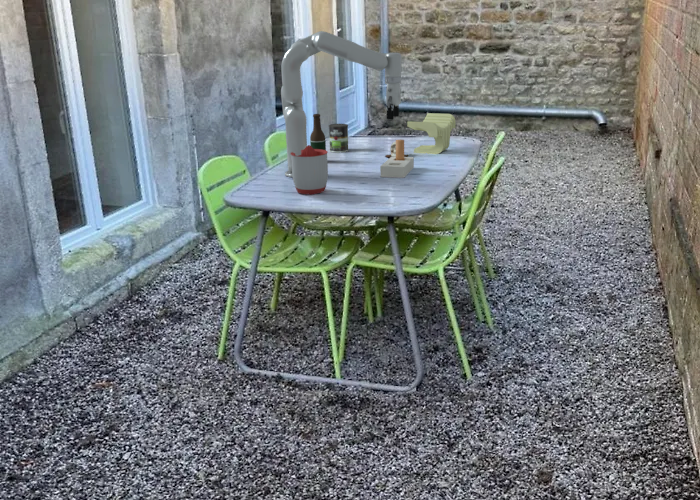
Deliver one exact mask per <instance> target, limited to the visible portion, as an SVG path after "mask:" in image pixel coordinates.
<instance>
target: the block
mask: <svg viewBox="0 0 700 500" xmlns="http://www.w3.org/2000/svg"><path fill="white" fill-rule="evenodd" d="M414 158H415V157H413V156H407V157H404V161H402V160H396V157H388V159H387V160H385V162H383V163H382V164H381V165H380V168H379V169H380V172H379V173H380V178H399V179H401V178H402V179H405V178H406V176H408V174H409V173H410V172H411V171H412V170H413V169H414V168H415V162H414V161H415V160H414Z"/></svg>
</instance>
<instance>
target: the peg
mask: <svg viewBox="0 0 700 500" xmlns="http://www.w3.org/2000/svg"><path fill="white" fill-rule="evenodd" d="M395 142H396V160H402V161H404V155H405V139H395Z"/></svg>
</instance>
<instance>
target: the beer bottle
mask: <svg viewBox="0 0 700 500" xmlns="http://www.w3.org/2000/svg"><path fill="white" fill-rule="evenodd" d="M312 117H313V129H312V132H311V134H310V136H309V137H310V138H309V145H310V146H311V147H312V148H313V149H322V150H326V151H327V148H326V147H327V145H326V143H327V142H326V135H325V133H324V132H323V130H322V126H321V125H322V124H321V114H320V113H314V114H313V115H312Z"/></svg>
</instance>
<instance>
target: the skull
mask: <svg viewBox="0 0 700 500" xmlns="http://www.w3.org/2000/svg"><path fill="white" fill-rule="evenodd" d="M384 157H386V158H390V157H396V141H394V142H392V143H391V145H390V154H385V156H384ZM404 157H409V154H404Z"/></svg>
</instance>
